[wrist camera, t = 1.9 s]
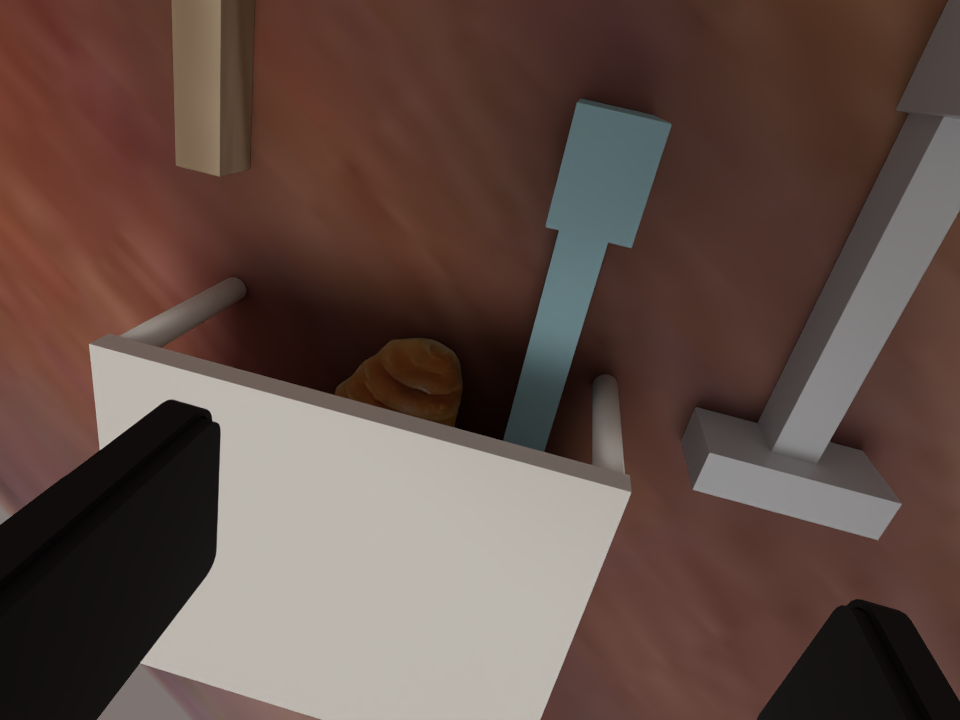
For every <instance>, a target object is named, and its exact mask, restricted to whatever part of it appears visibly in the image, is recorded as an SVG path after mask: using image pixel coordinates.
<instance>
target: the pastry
mask: <svg viewBox="0 0 960 720" xmlns="http://www.w3.org/2000/svg"><path fill="white" fill-rule="evenodd" d="M462 389H463V382H462V375H461V366H460V362H459V359H458V358H457V356H456V354H455V353H454V352H453V351H452V350H451V349H449V348H447V347H446V346H444V345H443V344H441V343H439V342H438V341H435V340H432V339H426V338H408V339H396V340H391V341H390V342H388V343H387V344H386V345H385V346H384V347H383V348H382V349H381V350H380V351H379V352H378V353H377V354H376V355H374V356H372V357H371V358H369V359H367V360H365V361H364V362H363V363H362V364H361V365H360V366H359V367H358V369H357V370H356V372H355V373H354V374H353V375H352V376H351V377H350V378H348V379H347V380H345V381H344V382H342V383H341V384H340V385H338V386H337V387H336V391H335V394H334V395H336V396H340V397H343V398H347V399H351V400H355V401H358V402H362V403H366V404H369V405H373V406H377V407H380V408H384V409H388V410H391V411H395V412H399V413H402V414H406V415H410V416H413V417H417V418H421V419H424V420H428V421H432V422H435V423H439V424H443V425H447V426H450V427H454V428H455V422H456V418H457V414H458V409H459V407H460V402H461V395H462Z"/></svg>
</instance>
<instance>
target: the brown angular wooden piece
mask: <svg viewBox="0 0 960 720" xmlns="http://www.w3.org/2000/svg"><path fill="white" fill-rule="evenodd" d="M254 13H255V0H172V32H173V70H174V109H175V148H176V166H180V167H184V168H188V169H192V170H196V171H200V172H204V173H208V174H212V175H216V176H224V175H228V174H232V173H236V172H240V171H244V170H248V169H250V155H251V119H252V84H253V48H254Z"/></svg>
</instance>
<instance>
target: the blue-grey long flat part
mask: <svg viewBox="0 0 960 720" xmlns="http://www.w3.org/2000/svg"><path fill="white" fill-rule="evenodd" d="M671 125H672V124H671V123H669V122H667V121H665V120H663V119H661V118H659V117H657V116H655V115H651V114H647V113H642V112H638V111H634V110H629V109H625V108H621V107H616V106H612V105H608V104H603V103H599V102H595V101H590V100H586V99H582V98H581V99H580V100H579V101H578V102H577V104H576V108H575V112H574V116H573V120H572V124H571V128H570V132H569V136H568V140H567V144H566V148H565V152H564V155H563V159H562V163H561V167H560V171H559V175H558V179H557V183H556V187H555V191H554V195H553V199H552V203H551V207H550V211H549V214H548V218H547V222H546V226H545V227H547V228H551V229H555V230H559V232H558V235H557V239H556V243H555V247H554V251H553V254H552V258H551V262H550V266H549V269H548V273H547V277H546V281H545V284H544V288H543V292H542V296H541V300H540V303H539V307H538V311H537V315H536V318H535V322H534V326H533V330H532V333H531V337H530V341H529V345H528V348H527V352H526V356H525V360H524V364H523V367H522V371H521V375H520V379H519V382H518V386H517V390H516V394H515V397H514V401H513V405H512V409H511V413H510V416H509V420H508V424H507V428H506V431H505V435H504V439H503V441H505V442H509V443H513V444H516V445H520V446H524V447H527V448H531V449H535V450H538V451H542V452H544V450H545V447H546V444H547V441H548V437H549V434H550V431H551V428H552V424H553V421H554V418H555V414H556V411H557V408H558V405H559V401H560V398H561V395H562V392H563V388H564V385H565V382H566V379H567V375H568V372H569V369H570V365H571V362H572V359H573V356H574V352H575V349H576V346H577V343H578V339H579V336H580V333H581V330H582V326H583V323H584V320H585V316H586V313H587V310H588V307H589V303H590V300H591V297H592V294H593V290H594V287H595V284H596V281H597V277H598V274H599V271H600V267H601V264H602V261H603V258H604V254H605V251H606V248H607V245H608V243H612V244H616V245H620V246H624V247H629V248H632V245H633V242H634V239H635V236H636V233H637V230H638V227H639V224H640V221H641V218H642V214H643V211H644V208H645V205H646V202H647V199H648V196H649V193H650V190H651V187H652V184H653V181H654V178H655V175H656V171H657V168H658V165H659V162H660V159H661V156H662V153H663V150H664V147H665V144H666V141H667V138H668V135H669V132H670V128H671Z"/></svg>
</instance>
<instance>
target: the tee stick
mask: <svg viewBox="0 0 960 720" xmlns="http://www.w3.org/2000/svg"><path fill="white" fill-rule="evenodd" d="M896 110H897V111H901V112H906V113H909V114H908V116H907V118H906V120H905V122H904V124H903V126H902V128H901V130H900V132H899V135H898V137H897V139H896V141H895V143H894V145H893V147H892V149H891V151H890V153H889V155H888V157H887V159H886V161H885V163H884V165H883V167H882V169H881V171H880V173H879V175H878V177H877V179H876V182H875V184H874V186H873V188H872V190H871V192H870V194H869V196H868V198H867V200H866V202H865V204H864V206H863V208H862V210H861V212H860V214H859V216H858V218H857V220H856V222H855V224H854V227H853V229H852V231H851V233H850V235H849V237H848V239H847V241H846V243H845V245H844V247H843V249H842V251H841V253H840V255H839V257H838V259H837V261H836V263H835V265H834V267H833V269H832V271H831V274H830V276H829V278H828V280H827V282H826V284H825V286H824V288H823V290H822V292H821V294H820V296H819V298H818V300H817V302H816V304H815V306H814V308H813V310H812V312H811V314H810V316H809V318H808V321H807V323H806V325H805V327H804V329H803V331H802V333H801V335H800V337H799V339H798V341H797V343H796V345H795V347H794V349H793V351H792V353H791V355H790V357H789V359H788V361H787V363H786V365H785V368H784V370H783V372H782V374H781V376H780V378H779V380H778V382H777V384H776V386H775V388H774V390H773V392H772V394H771V396H770V398H769V400H768V402H767V404H766V406H765V408H764V410H763V413H762V415H761V417H760V419H759V421H758V423H755V422H751V421H748V420H744V419H740V418H736V417H732V416H728V415H725V414H721V413H717V412H713V411H709V410H706V409H702V408H698V407H695V408H694V411H693V413H692V415H691V418H690V420H689V423H688V425H687V427H686V430H685V432H684V434H683V437H682V439H681V444H682V448H683V452H684V456H685V460H686V464H687V468H688V473H689V477H690V481H691V485H692V489H693V490H696V491H700V492H703V493H707V494H711V495H714V496H718V497H722V498H725V499H729V500H733V501H736V502H740V503H744V504H747V505H751V506H755V507H758V508H762V509H766V510H769V511H773V512H777V513H780V514H784V515H788V516H791V517H795V518H799V519H803V520H806V521H810V522H814V523H817V524H821V525H825V526H828V527H832V528H836V529H839V530H843V531H847V532H850V533H854V534H858V535H861V536H865V537H869V538H872V539H876V540H878V539H879V538H880V536H881V535H882V533H883V532H884V530H885V529H886V527H887V526H888V524H889V523H890V521H891V520H892V518H893V517H894V515H895V514H896V512H897V511H898V509H899V508H900V506H901V505H902V503H901V502H900V501H899V499H898V498H897V497H896V495H895V494H894V493H893V491H892V490H891V488H890V487H889V486H888V484H887V483H886V482H885V480H884V479H883V478H882V476H881V475H880V473H879V472H878V471H877V469H876V468H875V467H874V465H873V464H872V463H871V461H870V460H869V458H868V457H867V456H866V454H865V453H864V452H863V451H862V450H858V449H854V448H850V447H847V446H843V445H839V444H835V443H831V442H829V441H830V440H831V438H832V436H833V434H834V433H835V431H836V429H837V427H838V425H839V424H840V422H841V420H842V418H843V417H844V415H845V413H846V411H847V409H848V408H849V406H850V404H851V402H852V401H853V399H854V397H855V395H856V393H857V392H858V390H859V388H860V386H861V385H862V383H863V381H864V379H865V377H866V376H867V374H868V372H869V370H870V369H871V367H872V365H873V363H874V361H875V360H876V358H877V356H878V354H879V353H880V351H881V349H882V347H883V346H884V344H885V342H886V340H887V338H888V337H889V335H890V333H891V331H892V330H893V328H894V326H895V324H896V322H897V321H898V319H899V317H900V315H901V314H902V312H903V310H904V308H905V306H906V305H907V303H908V301H909V299H910V298H911V296H912V294H913V292H914V290H915V289H916V287H917V285H918V283H919V282H920V280H921V278H922V276H923V274H924V273H925V271H926V269H927V267H928V266H929V264H930V262H931V260H932V259H933V257H934V255H935V253H936V251H937V250H938V248H939V246H940V244H941V243H942V241H943V239H944V237H945V235H946V234H947V232H948V230H949V228H950V227H951V225H952V223H953V221H954V219H955V218H956V216H957V214H958V212H959V211H960V0H948V1H947V3H946V6H945V8H944V10H943V12H942V14H941V16H940V18H939V20H938V22H937V24H936V26H935V29H934V31H933V33H932V35H931V37H930V39H929V41H928V43H927V45H926V47H925V49H924V51H923V54H922V56H921V58H920V60H919V62H918V64H917V66H916V68H915V70H914V72H913V74H912V77H911V79H910V81H909V83H908V85H907V87H906V89H905V91H904V93H903V95H902V97H901V100H900V102H899V104H898V106H897V108H896Z"/></svg>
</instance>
